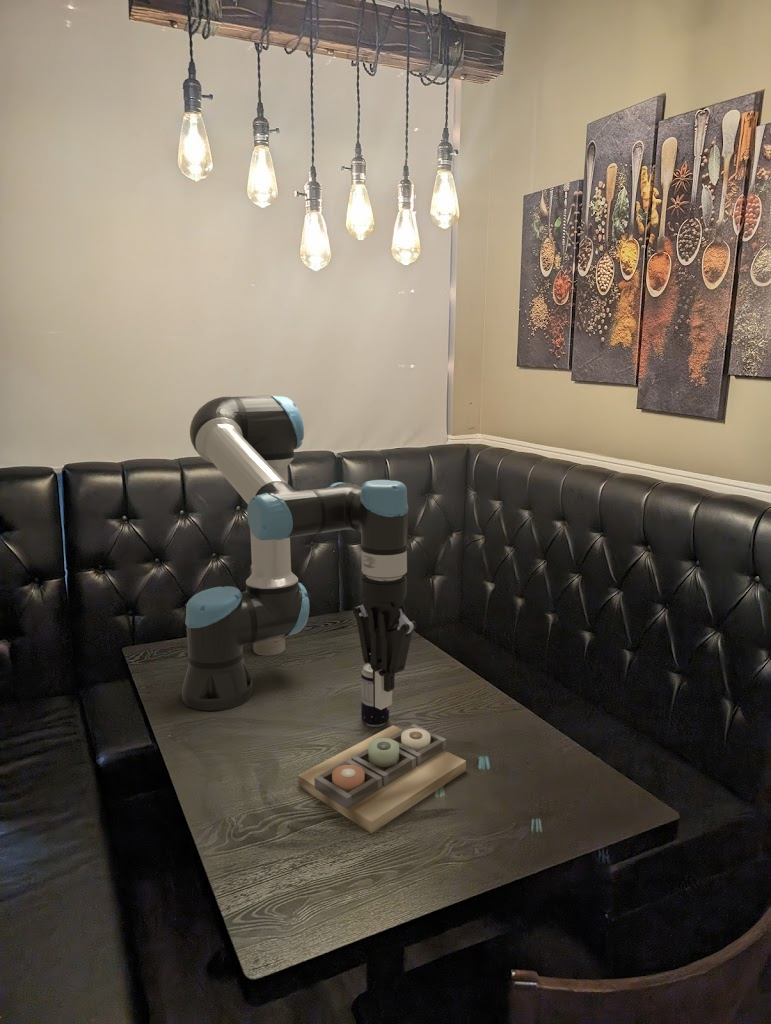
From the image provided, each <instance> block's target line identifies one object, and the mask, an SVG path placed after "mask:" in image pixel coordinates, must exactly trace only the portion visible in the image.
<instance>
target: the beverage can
mask: <svg viewBox="0 0 771 1024" xmlns="http://www.w3.org/2000/svg"><path fill="white" fill-rule="evenodd" d="M360 672H361V675H360V677H361V679H360V680H361V681H360V691H361V693H360V694H361V695H360V697H361V698H360V702H361V705H360V709H361V712H360V715H361V717H360V718H361V720H362V722H363V723H364V724H365V725H367V726H368V727H371V728H372V727H373V728H377V727H382V726H384V725H385V724H386V723H387V722H388V721H389V719H390V706H388V707H386V708H384V709H382V710H380V709H378V708H376V707H375V686H374V685H373V670H372V668H371V665H370V664H369V663H367V664H366V663H365V664H364V665H363V668H362V671H360Z"/></svg>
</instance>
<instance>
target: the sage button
mask: <svg viewBox="0 0 771 1024" xmlns="http://www.w3.org/2000/svg"><path fill="white" fill-rule="evenodd" d="M368 760H369V762H370V763H371V764H372V765H374V766H377V767H390V766H393V765H395V764H397V763H398V761H399V744H398V743H397V742H396V741H394V740H392V739H388V738H379V739H375V740H373V741H371V742H370V743H369V745H368Z"/></svg>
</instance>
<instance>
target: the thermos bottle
mask: <svg viewBox="0 0 771 1024" xmlns="http://www.w3.org/2000/svg"><path fill="white" fill-rule="evenodd" d="M251 575H252V564H250V576H251ZM252 645H253V647H252V649H253V652H254V654H256V655H258V656H266V657H267V656H276V655H279V654H281V653H283V652H284V651H285V650H286V637H285V638H277V639H272V640H267V641H263V642H258V643H254V644H252Z"/></svg>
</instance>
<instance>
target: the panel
mask: <svg viewBox="0 0 771 1024" xmlns="http://www.w3.org/2000/svg"><path fill="white" fill-rule="evenodd" d="M412 728H418V729H423V730H426V731H427V732H429V734H430V736H431V738H430V745H428V746H427V747H425V748H423V749H421V750H420V751H418V752H416V751H414V750H412V749H410V748H408V747H406V746H405V745H403V744H401V734H402V732H404V731H405V730H407V729H412ZM379 738H388V739H392V740H394V741H396V742H397V743H398V744H399V761H398V763H397V764H395V765H393V766H390V767H377V766H374V765H372V764H371V763H370V762H369V760H368V745H369V743H370V742H371V741H373V740H375V739H379ZM342 765H356V766H359V767H360V768H362V769H363V770H364V784H362V785H360V786H358V787H357V788H355V789H353V790H352V791H350V792H348V793H347V792H345V791H343V790H342V789H340V788H339V787H337V786H335V785H334V784H332V772H333V771H334V769H336V768H337V767H339V766H342ZM466 771H467V760H465V759H464V758H461V757H459V756H458V755H455V754H453V753H451V752H449V751H447V738H444V737H442V736H440V735H438V734H437V733H434V732H432V731H430V730H428V729H426V728H424V727H421V726H419V725H417V724H415V723H413V724H411V725H409V726H408V727H406V728H404V729H402V728H400V727H398V726H396V725H394V724H392V725H390V726H389V727H386V728H385V729H383V730H381V731H379V732H377V733H375V734H373V735H372V736H370V737H367V738H366V739H364V740H362V741H360V742H358V743H356V744H355V745H352V746H351V747H349V748H347V749H345V750H343V751H340V752H339V753H337V754H335V755H334V756H332V757H330V758H328V759H325V760H324V761H322V762H320V763H318V764H317V765H315V766H313V767H311V768H308V770H307V769H306V771H304V772H302V773H300V774H298V775H297V782H298V783H297V785H298V787H300V788H301V789H303V790H304V791H306V792H307V793H308V794H310V795H312V796H314V797H315V798H316V799H318V800H320V801H322V802H323V803H324V804H326V805H327V806H329V807H331V808H332V809H333V810H335V811H337V812H338V813H340V814H341V815H342V816H344V817H346V818H347V819H349V820H350V821H352V822H353V823H355V824H356V825H358V826H359V827H361V828H363V829H364V830H365V831H366V832H369V833H371V834H373V833H374V832H376V831H378V830H379V829H380V828H382V827H384V826H386V824H388V823H389V822H391V821H392V820H394V819H395V818H397V817H399V816H400V815H402V814H404V813H405V812H406V811H407V810H409V809H410V808H412V807H413V806H415V805H417V804H418V803H419V802H421V801H423V800H424V799H425V798H427V797H429V796H430V795H432V794H433V793H434V792H436V791H437V790H439V789H440V788H442V787H444V786H445V785H446V784H448V783H450V782H451V781H453V780H454V779H456V778H458V777H459V776H460V775H462V774H463V773H465V772H466Z"/></svg>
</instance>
